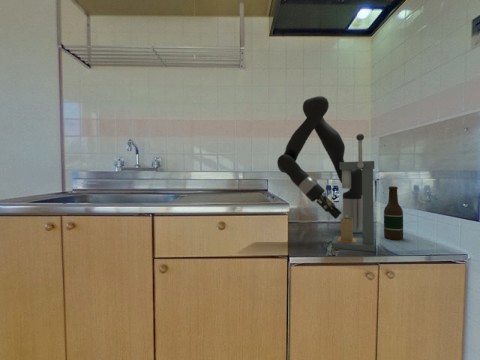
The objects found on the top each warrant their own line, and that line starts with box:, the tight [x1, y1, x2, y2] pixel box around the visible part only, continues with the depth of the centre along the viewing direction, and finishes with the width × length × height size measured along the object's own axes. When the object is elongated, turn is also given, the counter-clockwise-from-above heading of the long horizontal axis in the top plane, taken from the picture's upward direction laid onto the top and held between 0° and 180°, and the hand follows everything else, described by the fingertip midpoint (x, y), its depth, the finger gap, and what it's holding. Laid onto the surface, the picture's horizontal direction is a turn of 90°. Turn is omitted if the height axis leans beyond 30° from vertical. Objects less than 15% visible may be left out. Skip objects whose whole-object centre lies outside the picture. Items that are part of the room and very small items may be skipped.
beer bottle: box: [383, 185, 404, 241], centre depth 123 cm, size 8×8×24 cm
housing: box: [340, 215, 354, 241], centre depth 112 cm, size 4×4×10 cm
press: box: [331, 133, 376, 253], centre depth 111 cm, size 13×16×46 cm
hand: (338, 215), depth 114 cm, fingers open, 8 cm apart
